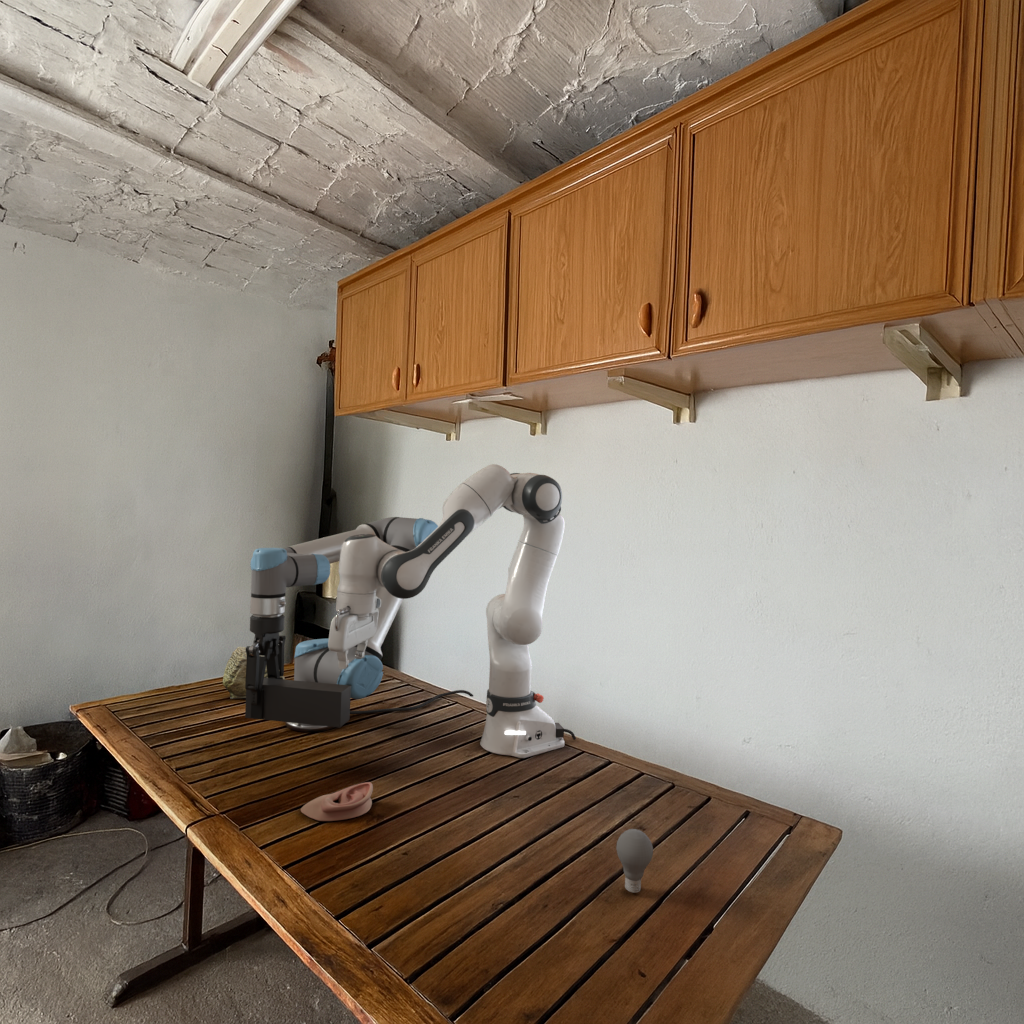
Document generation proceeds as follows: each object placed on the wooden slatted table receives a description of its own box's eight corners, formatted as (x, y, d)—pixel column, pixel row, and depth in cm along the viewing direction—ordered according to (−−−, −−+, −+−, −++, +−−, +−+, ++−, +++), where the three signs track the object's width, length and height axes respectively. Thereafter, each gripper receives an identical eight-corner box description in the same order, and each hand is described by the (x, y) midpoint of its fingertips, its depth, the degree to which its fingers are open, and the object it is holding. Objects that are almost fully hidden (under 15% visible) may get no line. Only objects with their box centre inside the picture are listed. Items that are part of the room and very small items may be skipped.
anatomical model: (293, 796, 125) (321, 772, 136) (292, 816, 125) (321, 791, 136) (355, 806, 122) (379, 781, 133) (354, 826, 122) (379, 799, 133)
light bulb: (610, 879, 108) (613, 822, 108) (644, 879, 109) (647, 822, 109) (619, 902, 102) (622, 840, 102) (655, 901, 103) (658, 840, 103)
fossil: (218, 695, 195) (220, 647, 195) (278, 685, 208) (279, 640, 207) (228, 703, 189) (230, 653, 188) (289, 692, 201) (290, 645, 201)
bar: (245, 717, 146) (246, 683, 146) (257, 710, 151) (258, 677, 151) (340, 727, 142) (341, 692, 142) (349, 719, 148) (351, 685, 147)
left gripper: (261, 622, 138) (257, 728, 138) (301, 609, 156) (298, 702, 156) (229, 620, 139) (225, 725, 139) (273, 606, 157) (269, 699, 158)
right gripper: (350, 611, 136) (346, 676, 136) (384, 599, 156) (380, 654, 156) (323, 609, 137) (318, 672, 137) (359, 596, 157) (355, 652, 157)
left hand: (264, 713), depth 148 cm, fingers closed on bar, 5 cm apart
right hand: (351, 663), depth 147 cm, fingers open, 8 cm apart
